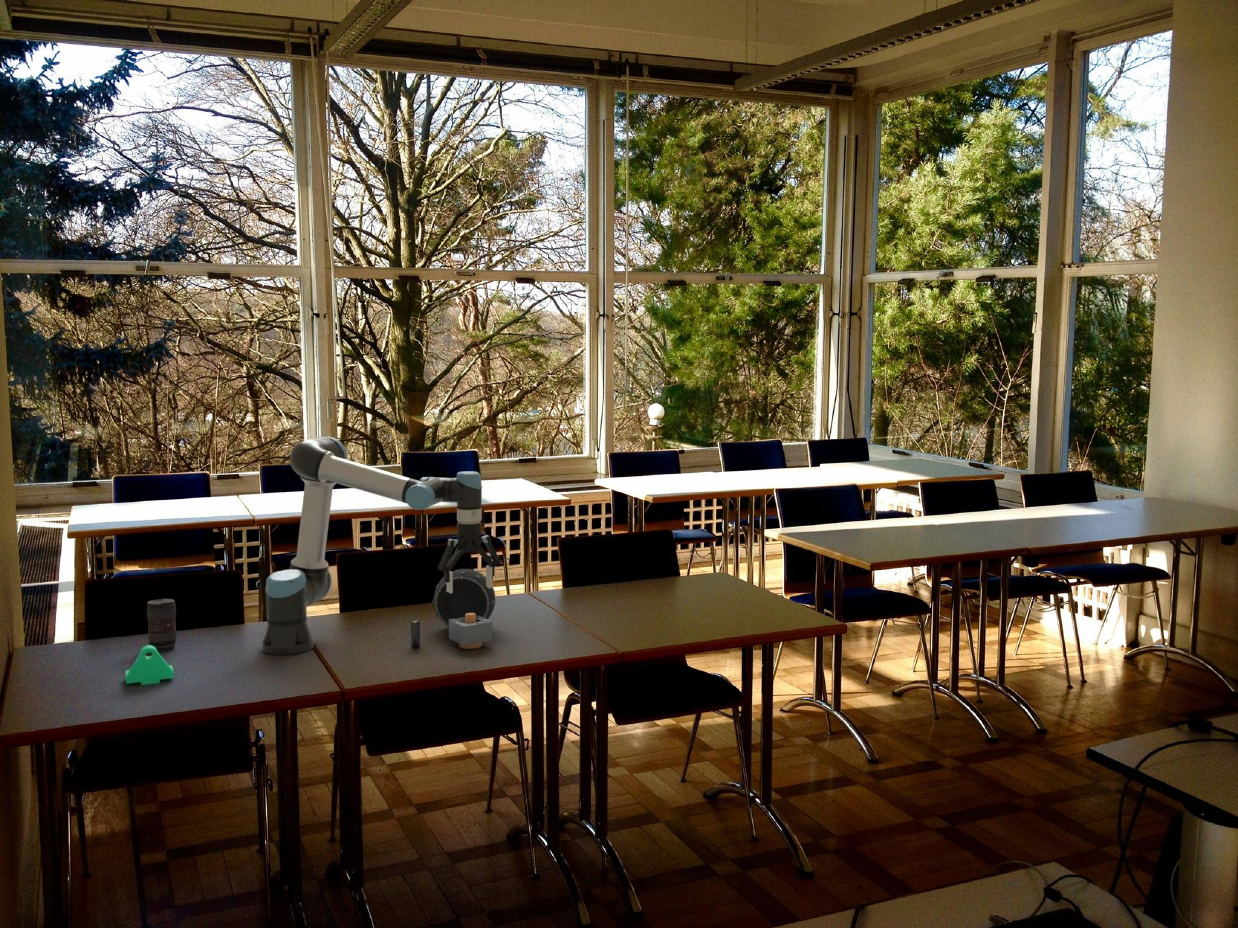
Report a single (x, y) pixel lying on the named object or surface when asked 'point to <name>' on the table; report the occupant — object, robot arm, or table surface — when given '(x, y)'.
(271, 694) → the table surface
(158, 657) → the camera mount
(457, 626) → the open grey box
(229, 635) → the table surface
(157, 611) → the dark grey cylinder
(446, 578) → the robot arm
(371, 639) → the table surface
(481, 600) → the dark grey round disc
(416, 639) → the stand rod
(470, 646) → the hub
